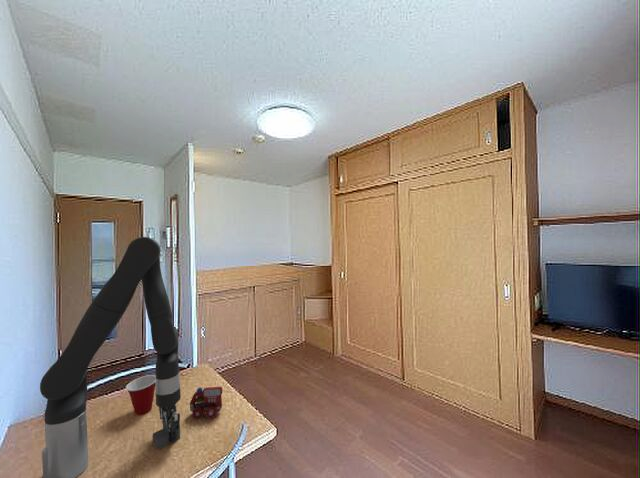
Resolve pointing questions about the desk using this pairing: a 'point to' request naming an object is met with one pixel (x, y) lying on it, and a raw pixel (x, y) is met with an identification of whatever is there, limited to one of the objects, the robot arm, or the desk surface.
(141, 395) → the plastic cup
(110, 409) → the desk surface
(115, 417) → the desk surface
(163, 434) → the grey stepped block
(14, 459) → the desk surface
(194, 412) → the toy fire truck
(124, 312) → the robot arm
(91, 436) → the desk surface
